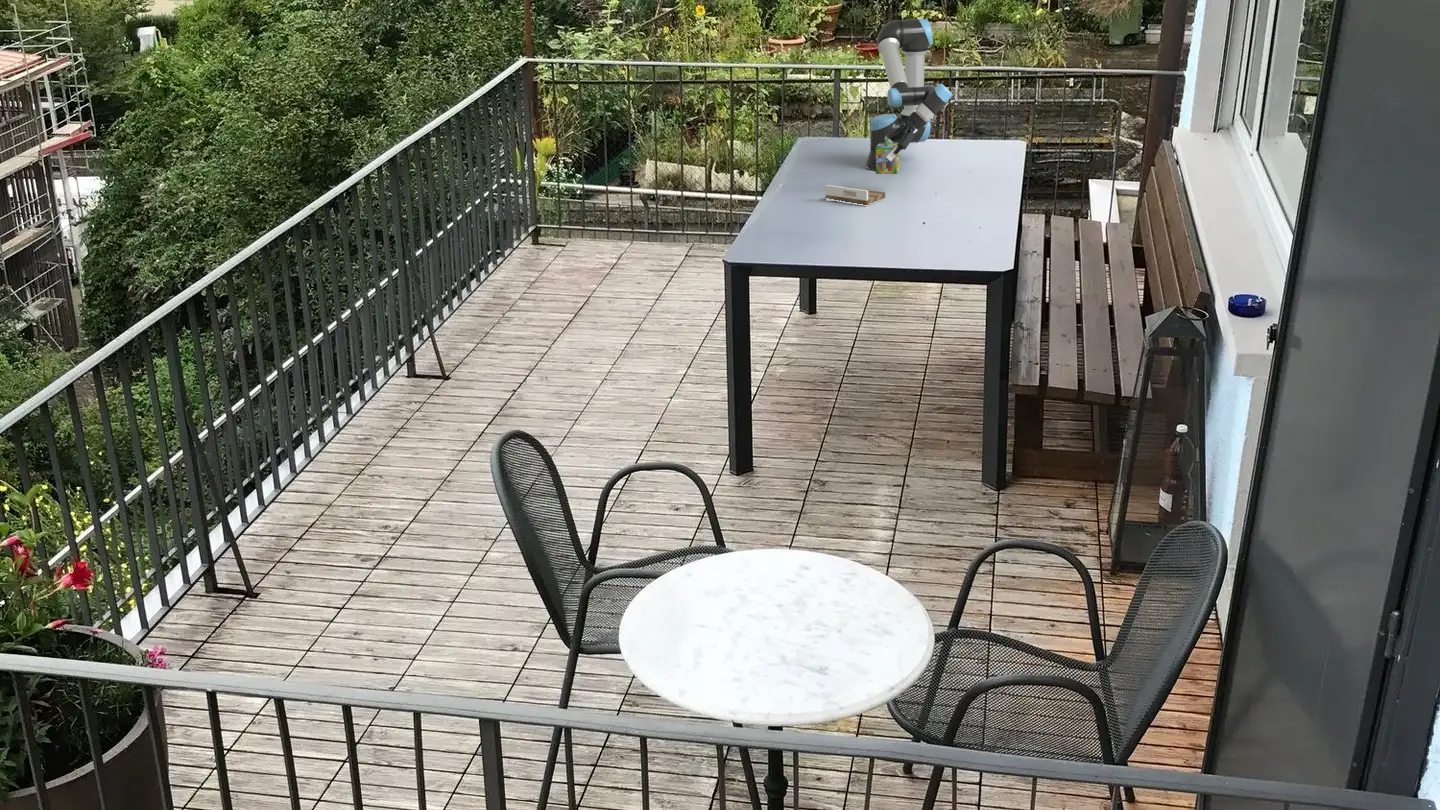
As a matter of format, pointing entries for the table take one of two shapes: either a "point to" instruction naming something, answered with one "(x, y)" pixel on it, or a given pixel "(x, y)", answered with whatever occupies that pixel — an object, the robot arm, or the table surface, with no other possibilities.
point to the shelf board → (853, 194)
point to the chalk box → (882, 162)
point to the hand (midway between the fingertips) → (884, 155)
